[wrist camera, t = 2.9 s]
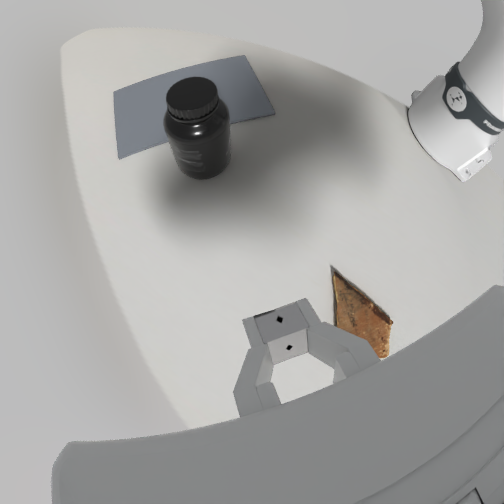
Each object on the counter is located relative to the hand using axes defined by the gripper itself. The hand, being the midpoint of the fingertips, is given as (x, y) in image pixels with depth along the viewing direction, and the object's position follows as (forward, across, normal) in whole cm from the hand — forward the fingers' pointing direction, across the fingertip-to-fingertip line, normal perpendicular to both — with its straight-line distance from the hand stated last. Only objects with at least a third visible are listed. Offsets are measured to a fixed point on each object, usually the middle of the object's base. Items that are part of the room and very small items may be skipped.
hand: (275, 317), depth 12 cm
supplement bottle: (+27, 0, -1) cm, 27 cm away
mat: (+34, 0, -9) cm, 35 cm away
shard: (+9, -10, +18) cm, 22 cm away
